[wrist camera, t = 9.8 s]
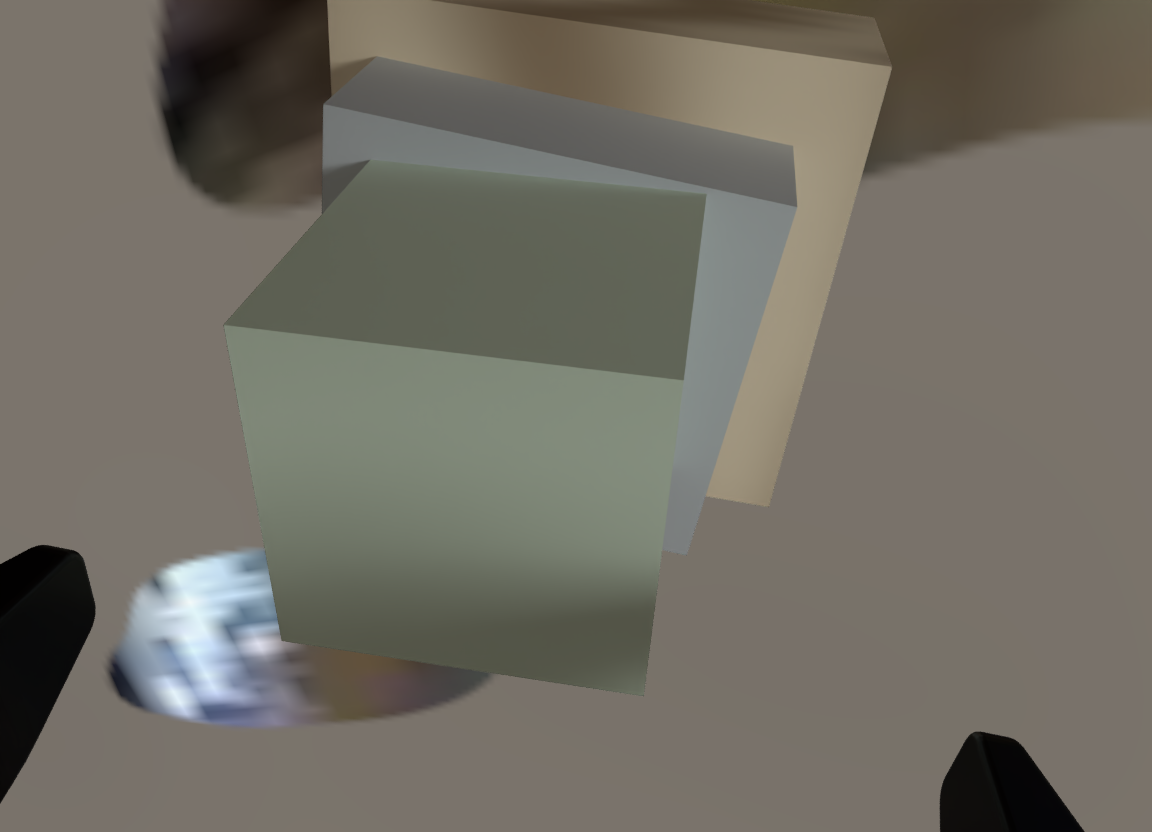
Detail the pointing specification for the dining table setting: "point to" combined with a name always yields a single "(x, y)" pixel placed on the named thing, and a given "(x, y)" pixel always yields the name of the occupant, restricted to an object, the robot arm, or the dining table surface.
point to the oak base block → (691, 95)
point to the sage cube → (472, 419)
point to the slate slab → (613, 156)
